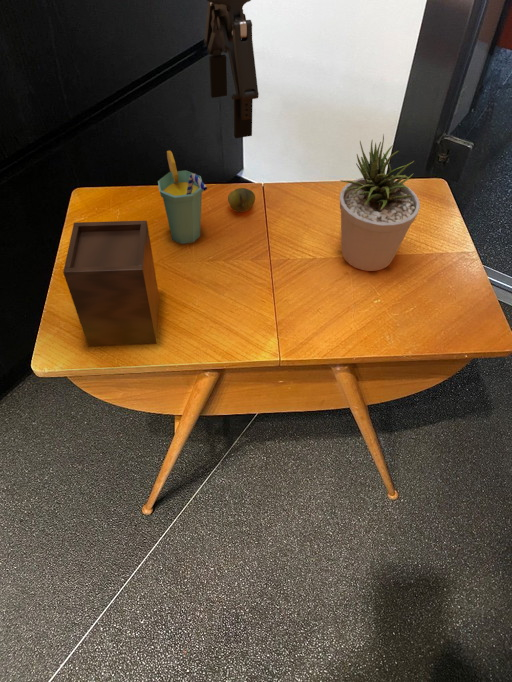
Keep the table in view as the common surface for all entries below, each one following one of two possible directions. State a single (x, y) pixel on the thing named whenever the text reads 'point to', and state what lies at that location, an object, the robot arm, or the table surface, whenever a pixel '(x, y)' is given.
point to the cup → (182, 202)
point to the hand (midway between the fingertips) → (230, 115)
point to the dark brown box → (113, 282)
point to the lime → (241, 199)
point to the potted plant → (375, 212)
